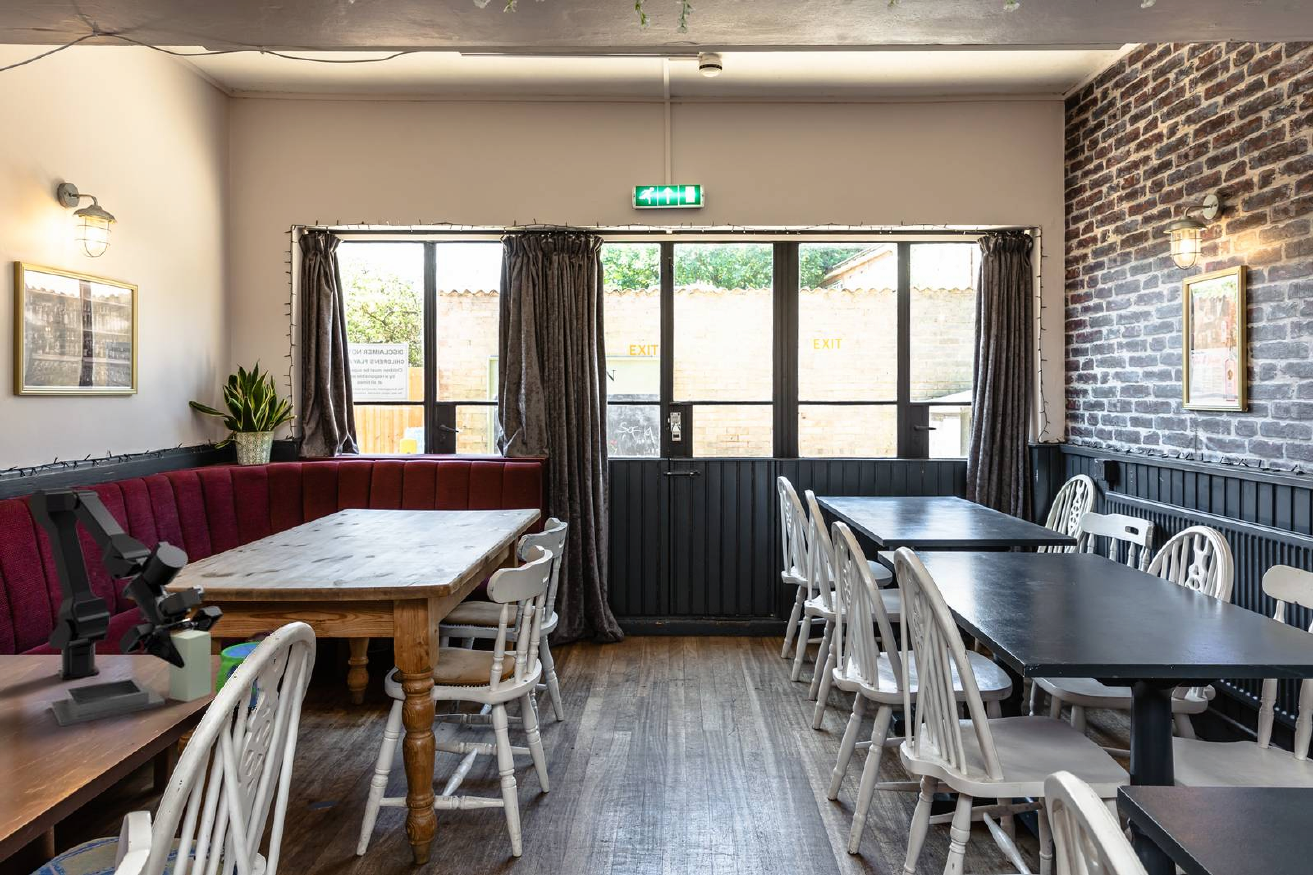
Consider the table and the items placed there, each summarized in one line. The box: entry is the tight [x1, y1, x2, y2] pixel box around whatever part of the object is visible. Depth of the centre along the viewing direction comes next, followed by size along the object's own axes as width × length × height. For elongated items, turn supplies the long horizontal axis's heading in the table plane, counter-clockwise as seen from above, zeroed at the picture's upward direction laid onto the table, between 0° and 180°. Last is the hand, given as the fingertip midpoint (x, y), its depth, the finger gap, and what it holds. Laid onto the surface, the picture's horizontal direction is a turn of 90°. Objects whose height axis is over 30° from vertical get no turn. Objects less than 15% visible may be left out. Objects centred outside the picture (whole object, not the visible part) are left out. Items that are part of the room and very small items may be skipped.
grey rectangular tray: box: [50, 677, 166, 727], centre depth 158 cm, size 12×16×3 cm
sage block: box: [168, 630, 212, 703], centre depth 164 cm, size 5×5×12 cm
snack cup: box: [215, 642, 261, 708], centre depth 161 cm, size 16×10×10 cm
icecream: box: [245, 627, 276, 643], centre depth 187 cm, size 7×7×15 cm
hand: (195, 663), depth 163 cm, fingers closed on sage block, 5 cm apart
